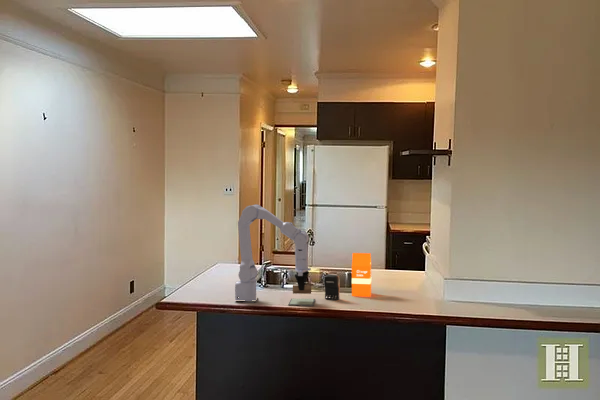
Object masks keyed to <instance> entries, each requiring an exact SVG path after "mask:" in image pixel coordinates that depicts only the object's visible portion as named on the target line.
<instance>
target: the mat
mask: <svg viewBox="0 0 600 400" xmlns="http://www.w3.org/2000/svg"><path fill="white" fill-rule="evenodd" d="M315 302H316V299H315V298H290V300H289V302H288V305H302V306H301V307H314V305H315Z"/></svg>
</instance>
